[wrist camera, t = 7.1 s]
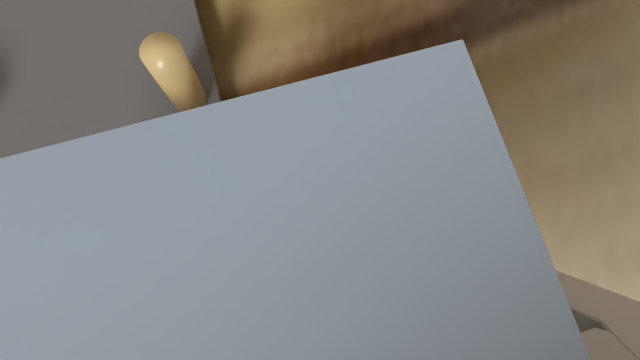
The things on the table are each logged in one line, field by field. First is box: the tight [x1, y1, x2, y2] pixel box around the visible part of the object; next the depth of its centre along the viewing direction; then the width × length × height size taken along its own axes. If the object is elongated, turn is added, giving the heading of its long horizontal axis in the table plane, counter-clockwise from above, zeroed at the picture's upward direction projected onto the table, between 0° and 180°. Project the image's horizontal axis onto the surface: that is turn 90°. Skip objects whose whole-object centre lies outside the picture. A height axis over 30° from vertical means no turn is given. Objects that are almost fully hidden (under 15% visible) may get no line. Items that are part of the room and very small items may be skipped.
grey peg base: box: [0, 0, 222, 158], centre depth 17 cm, size 12×12×6 cm
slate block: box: [0, 39, 591, 360], centre depth 9 cm, size 5×5×12 cm
